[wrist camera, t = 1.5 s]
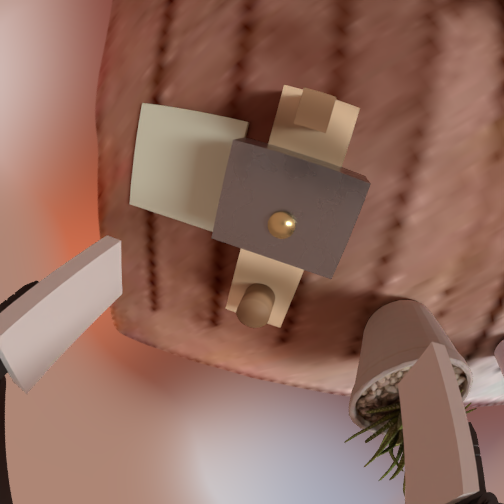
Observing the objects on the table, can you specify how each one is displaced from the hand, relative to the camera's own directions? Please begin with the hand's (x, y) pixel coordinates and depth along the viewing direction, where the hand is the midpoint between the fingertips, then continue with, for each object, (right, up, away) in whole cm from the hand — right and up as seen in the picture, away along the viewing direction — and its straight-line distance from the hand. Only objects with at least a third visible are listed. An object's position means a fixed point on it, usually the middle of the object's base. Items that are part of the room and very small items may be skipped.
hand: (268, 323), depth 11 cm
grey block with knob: (+3, +7, +13) cm, 15 cm away
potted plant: (+17, -7, +21) cm, 28 cm away
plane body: (+3, +7, +18) cm, 19 cm away
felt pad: (-8, +12, +18) cm, 23 cm away
